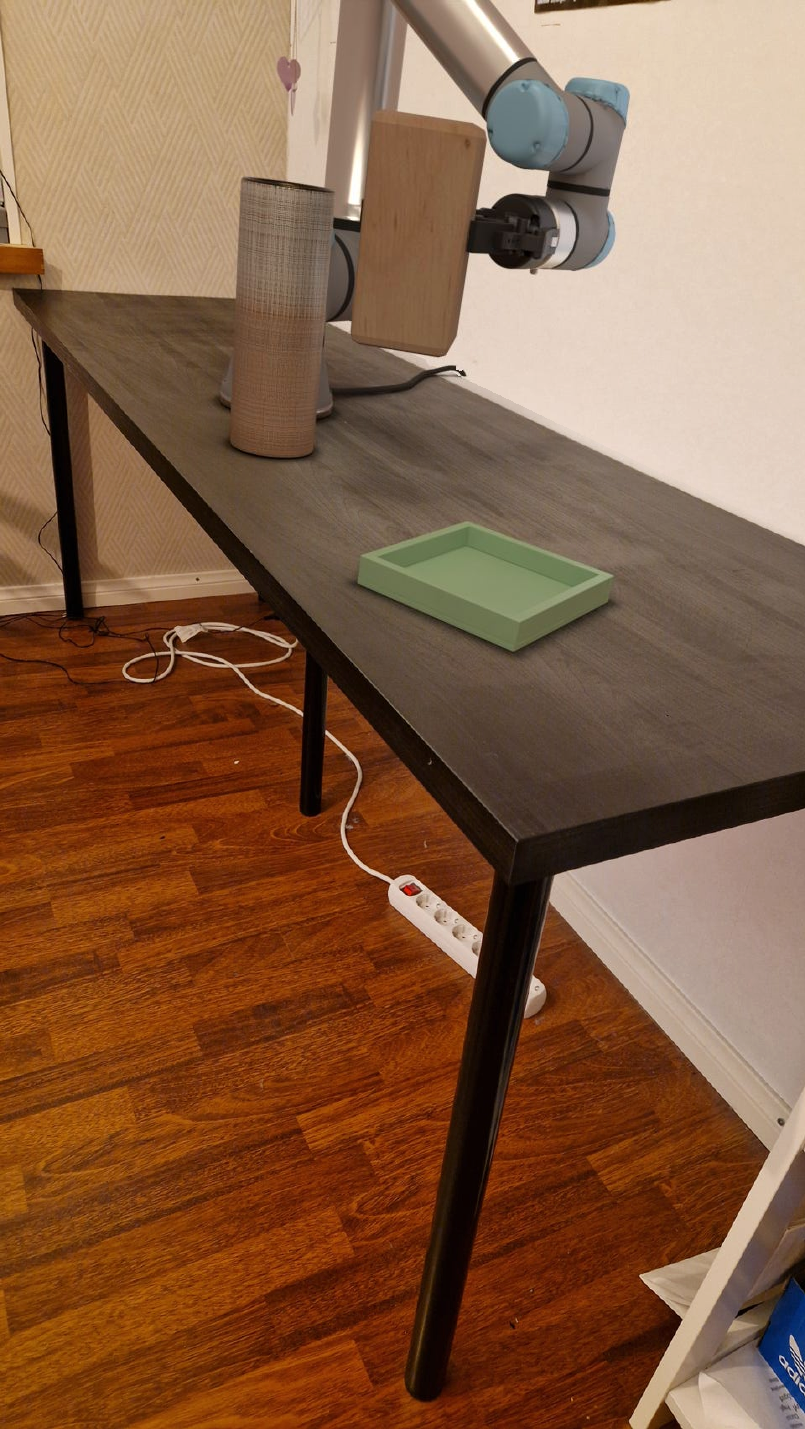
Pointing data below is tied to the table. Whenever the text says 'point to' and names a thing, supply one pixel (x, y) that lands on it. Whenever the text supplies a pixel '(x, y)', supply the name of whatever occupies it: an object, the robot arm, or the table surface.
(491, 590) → the green serving tray
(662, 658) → the table surface
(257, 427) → the vase
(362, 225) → the wooden block
